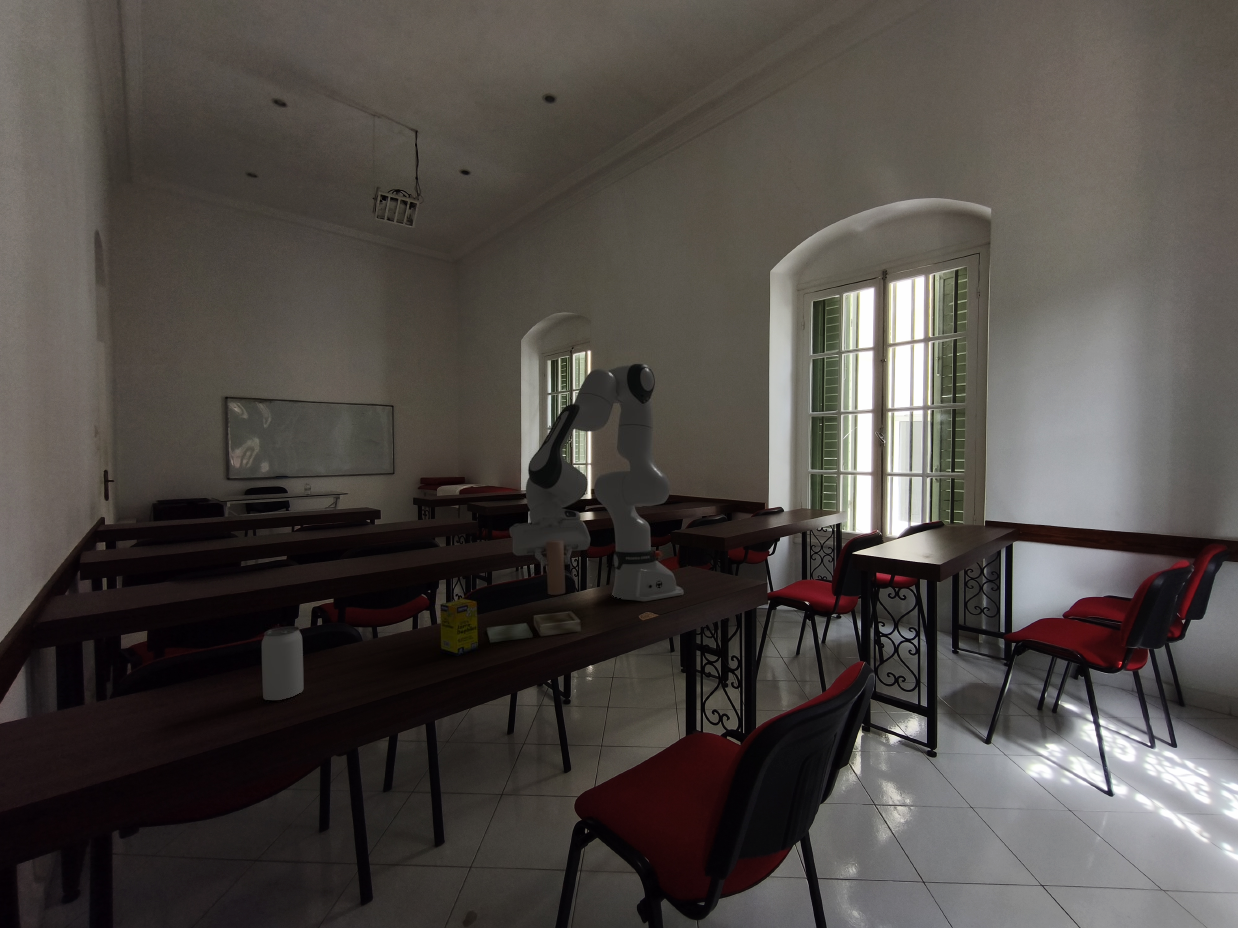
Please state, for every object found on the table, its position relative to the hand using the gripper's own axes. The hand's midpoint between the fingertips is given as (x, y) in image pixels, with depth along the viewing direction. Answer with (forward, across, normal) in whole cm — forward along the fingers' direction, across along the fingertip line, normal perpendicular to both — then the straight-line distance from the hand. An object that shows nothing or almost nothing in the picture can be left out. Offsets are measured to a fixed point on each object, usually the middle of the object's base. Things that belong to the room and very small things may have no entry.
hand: (556, 563), depth 139 cm
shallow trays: (+11, -6, +12) cm, 18 cm away
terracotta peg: (+5, 0, +6) cm, 7 cm away
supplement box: (+17, -24, +6) cm, 30 cm away
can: (+26, -56, -3) cm, 62 cm away
